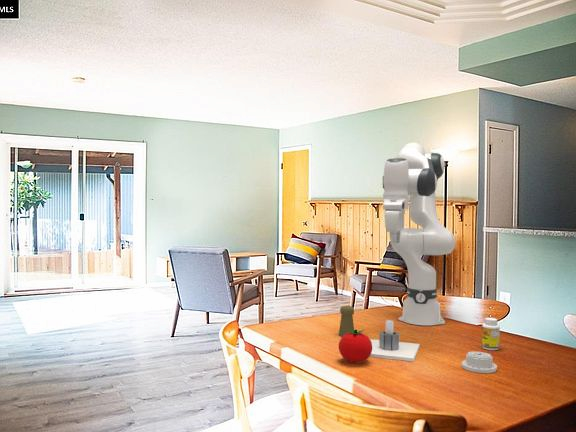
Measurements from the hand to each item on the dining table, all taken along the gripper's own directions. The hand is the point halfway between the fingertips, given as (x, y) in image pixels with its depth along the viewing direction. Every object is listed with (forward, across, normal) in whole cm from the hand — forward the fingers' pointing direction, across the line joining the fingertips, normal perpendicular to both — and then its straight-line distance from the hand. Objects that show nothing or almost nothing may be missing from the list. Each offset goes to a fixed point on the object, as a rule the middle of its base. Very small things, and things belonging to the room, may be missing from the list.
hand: (395, 243), depth 185 cm
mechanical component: (+36, +18, +28) cm, 49 cm away
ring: (+34, +10, 0) cm, 36 cm away
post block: (+35, +10, 0) cm, 36 cm away
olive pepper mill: (+35, -5, -18) cm, 40 cm away
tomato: (+35, +26, -8) cm, 45 cm away
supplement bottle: (+35, -6, +32) cm, 48 cm away
